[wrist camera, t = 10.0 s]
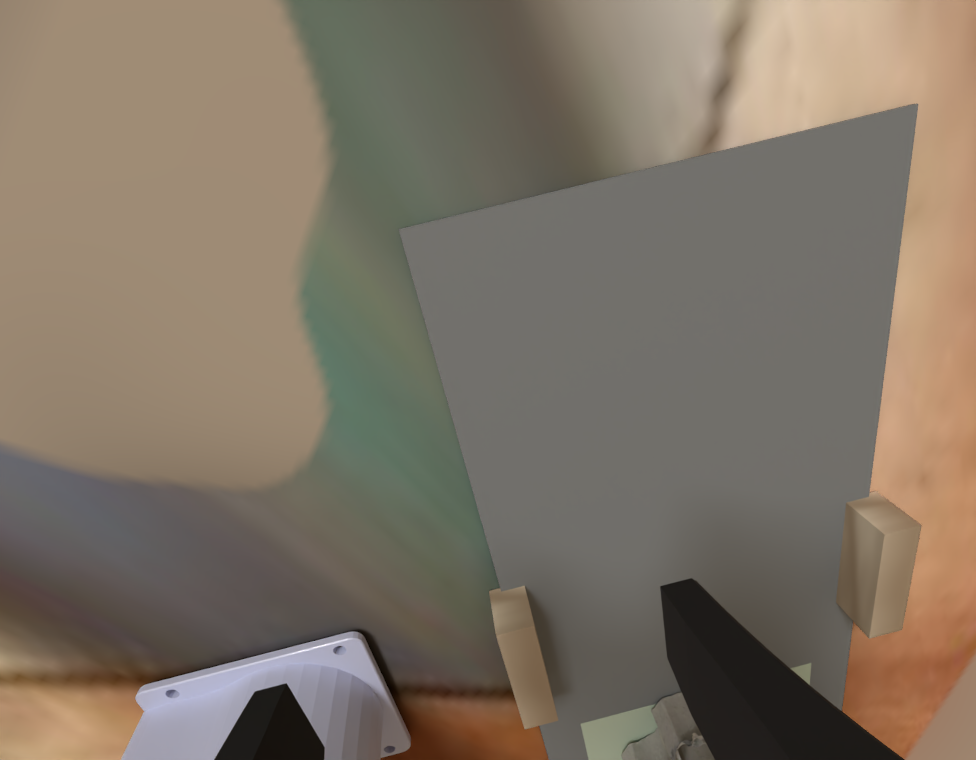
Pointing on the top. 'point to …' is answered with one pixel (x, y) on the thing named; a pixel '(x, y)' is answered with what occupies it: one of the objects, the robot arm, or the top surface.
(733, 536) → the lane mat
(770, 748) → the robot arm
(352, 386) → the top surface
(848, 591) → the lane walls
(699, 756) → the egg carton
